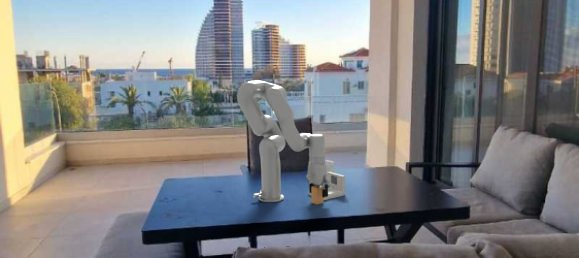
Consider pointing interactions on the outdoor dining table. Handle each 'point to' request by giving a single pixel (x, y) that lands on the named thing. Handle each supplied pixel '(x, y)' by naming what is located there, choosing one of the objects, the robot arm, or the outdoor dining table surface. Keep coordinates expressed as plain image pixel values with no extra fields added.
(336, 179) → the socket
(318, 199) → the plug
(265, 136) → the robot arm
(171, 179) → the outdoor dining table surface
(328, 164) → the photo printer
